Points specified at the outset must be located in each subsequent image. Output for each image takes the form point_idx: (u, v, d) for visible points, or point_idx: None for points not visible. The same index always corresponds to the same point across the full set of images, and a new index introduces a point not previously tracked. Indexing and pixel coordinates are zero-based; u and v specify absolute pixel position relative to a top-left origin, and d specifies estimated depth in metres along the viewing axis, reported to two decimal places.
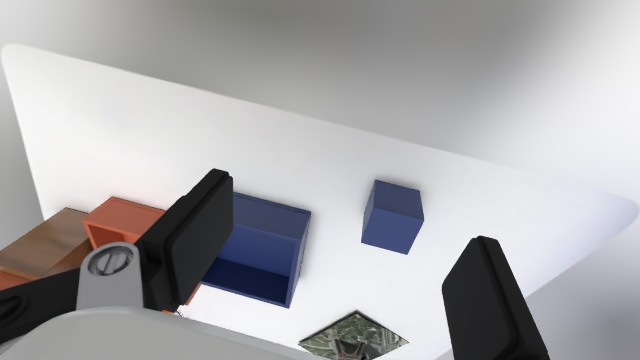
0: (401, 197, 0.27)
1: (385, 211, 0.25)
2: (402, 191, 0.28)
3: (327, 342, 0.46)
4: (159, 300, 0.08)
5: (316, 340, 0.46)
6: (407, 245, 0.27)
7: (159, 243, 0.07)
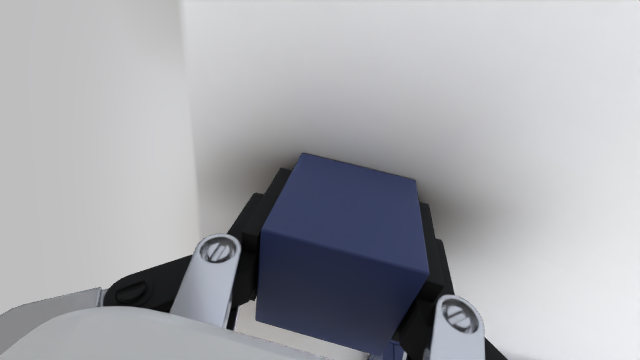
0: None
1: (258, 303, 0.09)
2: None
3: None
4: (250, 287, 0.09)
5: None
6: (379, 271, 0.08)
7: (257, 235, 0.08)
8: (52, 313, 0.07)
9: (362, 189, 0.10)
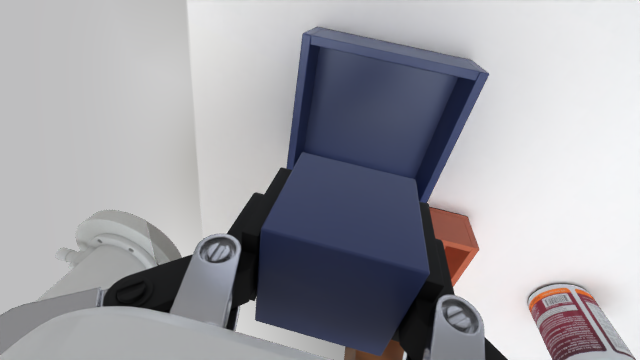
0: None
1: (258, 303, 0.09)
2: None
3: None
4: (250, 287, 0.09)
5: None
6: (380, 271, 0.08)
7: (257, 235, 0.08)
8: (52, 313, 0.07)
9: (362, 188, 0.10)
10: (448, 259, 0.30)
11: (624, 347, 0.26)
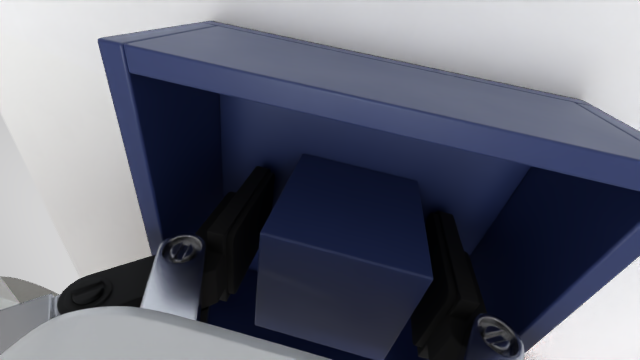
0: None
1: (257, 308, 0.09)
2: None
3: None
4: (218, 288, 0.09)
5: None
6: (382, 276, 0.07)
7: (223, 234, 0.08)
8: None
9: (363, 191, 0.10)
10: None
11: None
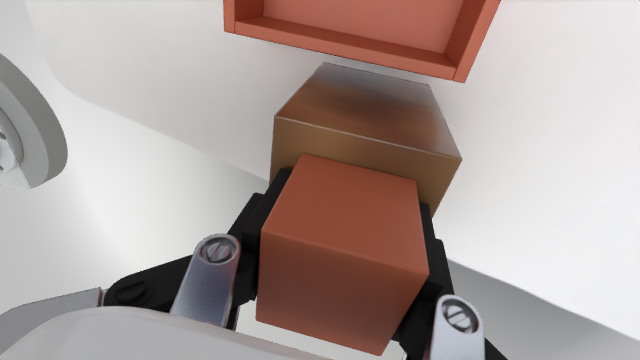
0: None
1: None
2: None
3: None
4: (250, 287, 0.09)
5: None
6: None
7: (257, 235, 0.08)
8: (52, 313, 0.07)
9: None
10: None
11: None
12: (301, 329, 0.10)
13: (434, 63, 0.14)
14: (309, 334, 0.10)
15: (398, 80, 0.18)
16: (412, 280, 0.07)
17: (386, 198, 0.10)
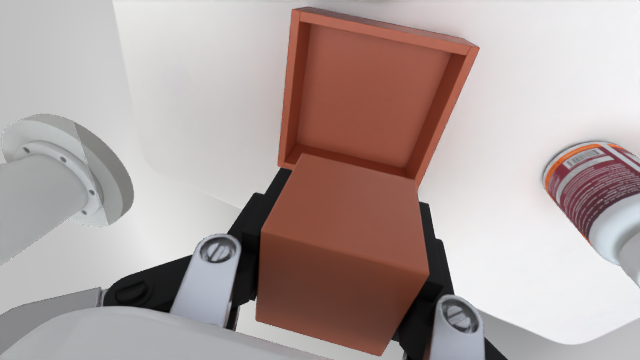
0: None
1: None
2: None
3: None
4: (250, 287, 0.09)
5: None
6: None
7: (257, 235, 0.08)
8: (52, 313, 0.07)
9: None
10: (438, 100, 0.22)
11: None
12: (301, 329, 0.10)
13: None
14: (309, 334, 0.10)
15: None
16: (412, 279, 0.07)
17: (386, 199, 0.10)
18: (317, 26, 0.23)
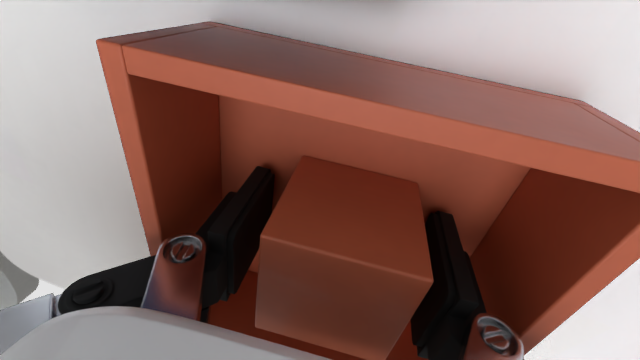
0: None
1: None
2: None
3: None
4: (219, 288, 0.09)
5: None
6: None
7: (224, 234, 0.08)
8: (0, 325, 0.06)
9: None
10: (516, 245, 0.09)
11: None
12: (301, 336, 0.10)
13: None
14: (309, 341, 0.10)
15: None
16: (416, 287, 0.07)
17: (389, 203, 0.09)
18: None
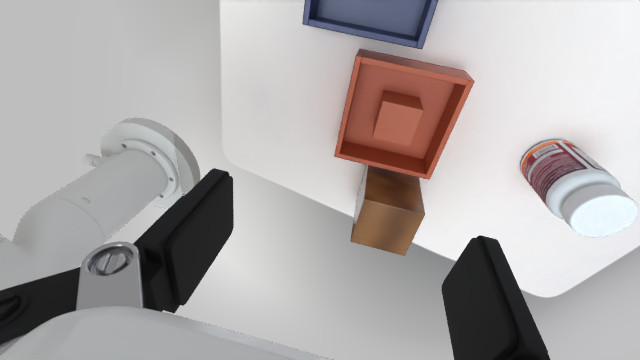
0: None
1: None
2: None
3: None
4: (159, 300, 0.08)
5: None
6: None
7: (159, 243, 0.07)
8: None
9: None
10: (447, 112, 0.33)
11: (603, 168, 0.29)
12: (386, 138, 0.33)
13: (417, 172, 0.36)
14: (389, 140, 0.34)
15: None
16: (419, 112, 0.31)
17: (411, 100, 0.33)
18: None
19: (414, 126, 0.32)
